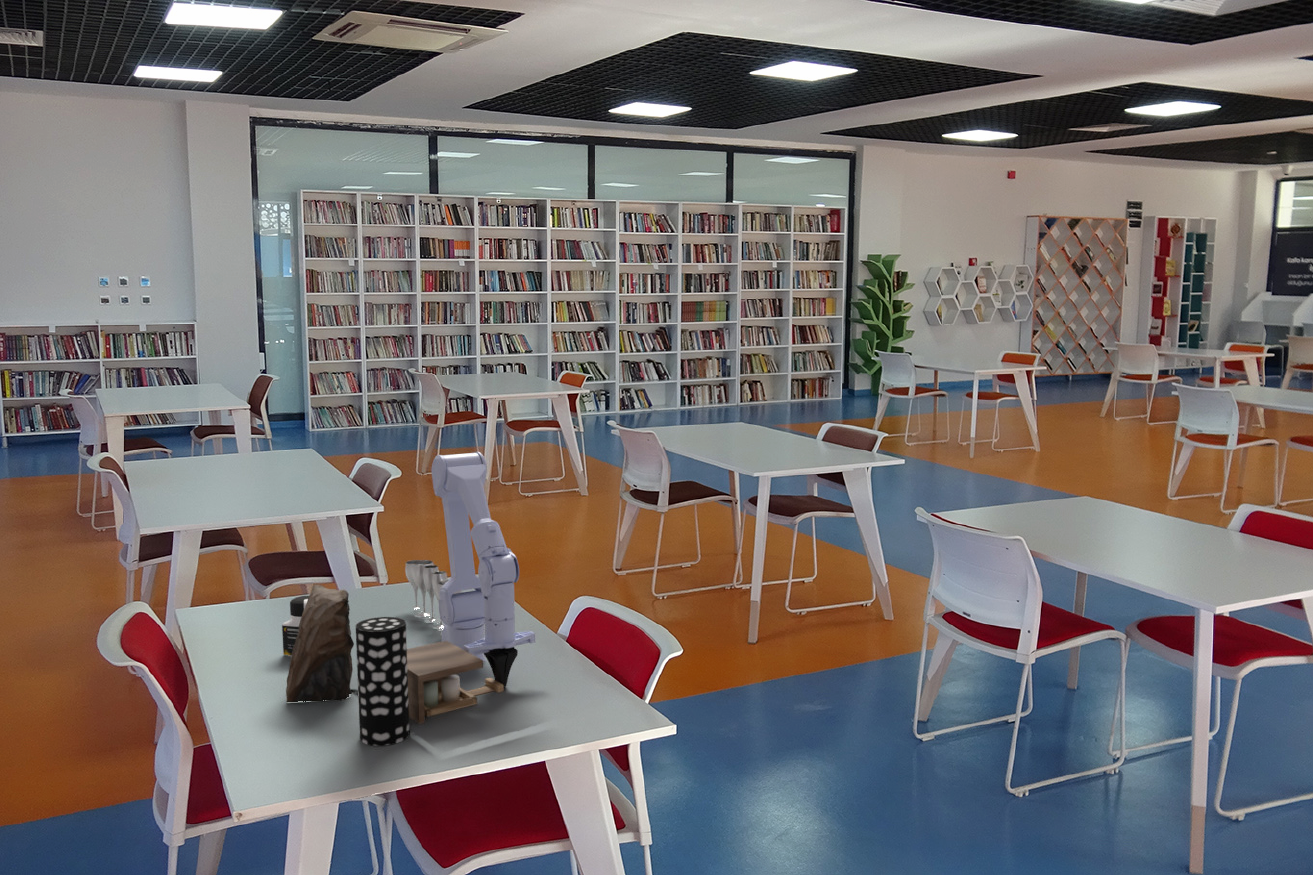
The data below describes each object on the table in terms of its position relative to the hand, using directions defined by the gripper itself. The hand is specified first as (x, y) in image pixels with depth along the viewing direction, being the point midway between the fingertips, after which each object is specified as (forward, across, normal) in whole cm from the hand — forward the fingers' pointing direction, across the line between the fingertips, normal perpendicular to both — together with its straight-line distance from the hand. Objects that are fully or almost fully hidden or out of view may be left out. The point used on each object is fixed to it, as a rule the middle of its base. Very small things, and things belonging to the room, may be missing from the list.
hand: (501, 685), depth 203 cm
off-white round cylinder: (0, -11, 0) cm, 11 cm away
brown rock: (+1, -28, +21) cm, 35 cm away
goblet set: (+2, +10, +49) cm, 50 cm away
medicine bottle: (+1, -21, +46) cm, 51 cm away
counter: (+1, -13, 0) cm, 13 cm away
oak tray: (+1, -9, 0) cm, 9 cm away
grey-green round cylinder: (0, -15, 0) cm, 15 cm away
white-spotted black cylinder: (+1, -26, -6) cm, 27 cm away
